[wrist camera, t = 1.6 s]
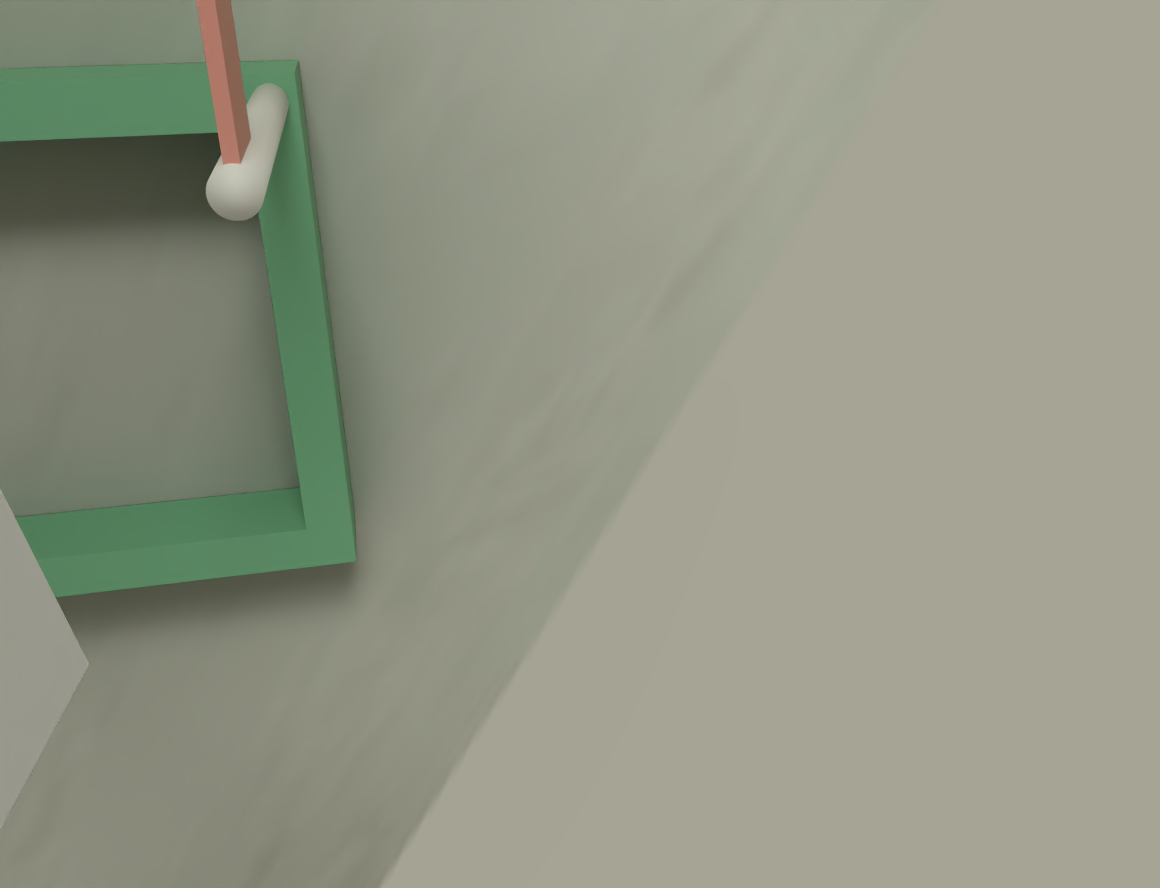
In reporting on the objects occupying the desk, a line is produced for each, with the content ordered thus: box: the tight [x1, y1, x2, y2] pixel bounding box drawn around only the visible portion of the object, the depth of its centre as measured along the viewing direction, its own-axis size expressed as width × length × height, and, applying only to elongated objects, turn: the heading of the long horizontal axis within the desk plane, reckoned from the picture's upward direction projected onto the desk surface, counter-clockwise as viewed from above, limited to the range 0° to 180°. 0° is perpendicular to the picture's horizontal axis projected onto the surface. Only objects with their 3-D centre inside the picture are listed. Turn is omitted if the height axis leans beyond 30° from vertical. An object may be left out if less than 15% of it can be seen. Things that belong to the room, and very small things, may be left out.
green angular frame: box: [0, 0, 356, 597], centre depth 26 cm, size 20×14×14 cm
